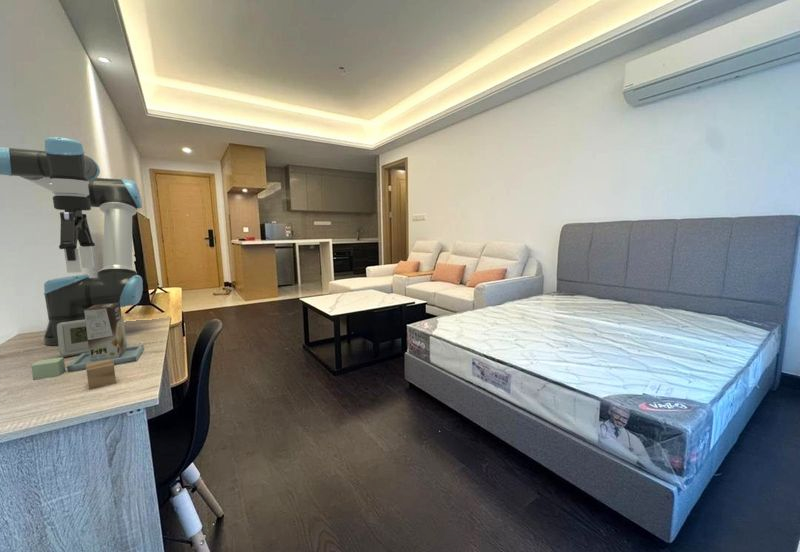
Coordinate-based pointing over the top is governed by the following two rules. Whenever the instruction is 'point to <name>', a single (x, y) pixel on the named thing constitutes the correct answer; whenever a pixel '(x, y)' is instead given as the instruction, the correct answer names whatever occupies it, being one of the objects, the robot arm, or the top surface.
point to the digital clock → (75, 338)
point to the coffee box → (104, 331)
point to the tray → (128, 356)
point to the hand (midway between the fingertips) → (81, 269)
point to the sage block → (48, 368)
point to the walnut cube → (100, 374)
